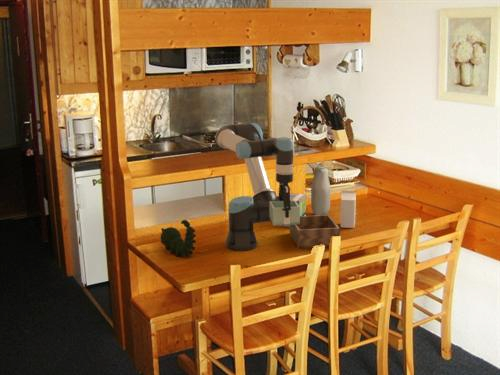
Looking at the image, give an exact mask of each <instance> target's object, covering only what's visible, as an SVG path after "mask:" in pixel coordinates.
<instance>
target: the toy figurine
mask: <svg viewBox="0 0 500 375" xmlns="http://www.w3.org/2000/svg"><path fill="white" fill-rule="evenodd" d="M180 224H181V225H183V226H184V227H185V228H186V230H185V234H184V236H185V237H184V239H183V238H182V235H181V233H180V230H178V229H177V228H176V227H172V226H171V227H170V226H169V227H166V228H161V234H160V243H161V244H162V245H163V246H164V248H165V249H166V250H168V251H169V253H170V254H174V255H175V256H176V257H180V256H182V257H184V258H185V257H186V255H190V256H191V255H193V253H194V251H195V250H196V247H195V246H194V244H196V242H197V241H196V239H194V238H195V237H197V236H196V234H195V232H196V229H195V228H193V227H192V226H191V224H190V221H188V220H186V219H183V220H181V222H180Z"/></svg>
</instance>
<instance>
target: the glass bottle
mask: <svg viewBox="0 0 500 375" xmlns="http://www.w3.org/2000/svg"><path fill="white" fill-rule="evenodd" d="M329 179H330V178H329V170H328V168H327V166H325V165H317V166H316V167H314V170H313V179H312V182H311V187H310V197H311V198H310V207H311V211H312V213H313V214H314V215H328V213H329V212H330V209H331V208H330V207H331V193H332V192H331V191H332V190H331V183H330V180H329Z"/></svg>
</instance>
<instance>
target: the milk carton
mask: <svg viewBox="0 0 500 375" xmlns="http://www.w3.org/2000/svg"><path fill="white" fill-rule="evenodd" d="M356 196H357V194H356V190H341V196H340V223H339V224H340V226H339V228H346V229H347V228H349V229H355V225H356V200H357V199H356Z"/></svg>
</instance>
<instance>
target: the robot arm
mask: <svg viewBox="0 0 500 375" xmlns="http://www.w3.org/2000/svg"><path fill="white" fill-rule="evenodd" d="M263 136H264V135H263V131H262V128H261V126H260V125H259V124H257V123H255V122H254V123H253V122H247V123H237V124H226V125H223V126H222V127H220V128H219V129H218V130H217V131H216V133H215V137H214V138H215V142H216V144H217V145H218V146H219V147H220V148H221V149H225V150H230V151H232V152H235V155H236V157H237V158H238V159H244V163H245V166H246V169H247V173H248V177H249V180H250V183H251V186H252V187H251V188H252V191H253V196H249V195H240V196H237V197H234V198H232V199H231V200H230V201H229V202H228V209H227V211H228V232H227V236H226V239H225V247H226V248H227V249H229V250H232V251H241V252H243V251H250V250H253V249H256V248H257V247H258V239H257V237H256V233H255V231H254V224H263V223H270V222H271V220H270V218H269V201H283V203H284V209H283V224H290V210H291V205H290V193H291V188H290V186H289V184H290V183H292V182H293V181H294V174H293V172H294V169H293V168H294V167H295V165H294V140H293V139H292V137H285V136H284V137H278V138H277V137H269V138H267V139H264V137H263ZM263 157H275V172H276V174H275V181H276V182H277V183H278V184H279V185H278V186H279V187H278V195H277V193H276V191H275V190H273V189H272V187H271V184H270V181H269V176H268V174H267V171H266V168H265V163H264V160H263ZM286 207H288V208H286ZM271 223H272V222H271Z"/></svg>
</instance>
